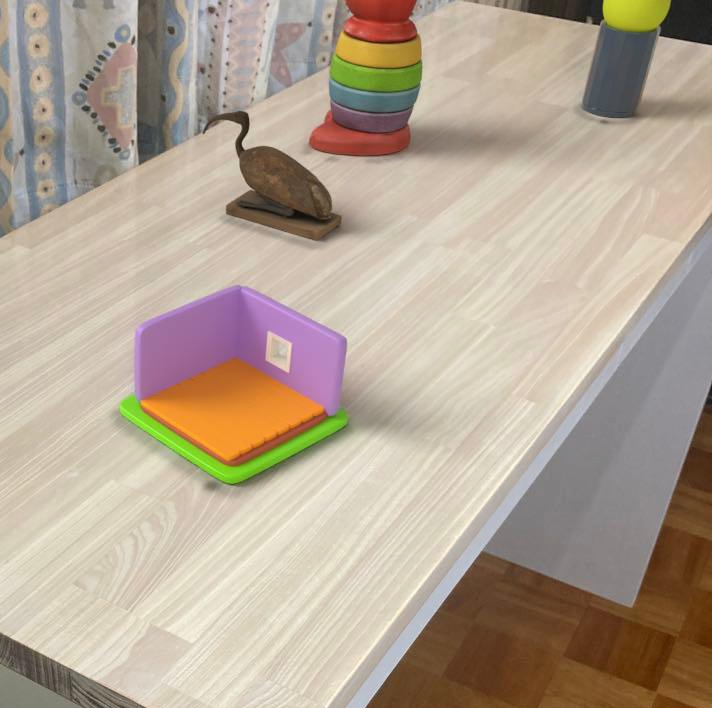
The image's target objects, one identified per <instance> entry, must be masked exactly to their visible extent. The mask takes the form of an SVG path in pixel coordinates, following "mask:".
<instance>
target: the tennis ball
mask: <svg viewBox="0 0 712 708" xmlns="http://www.w3.org/2000/svg"><path fill="white" fill-rule="evenodd" d="M602 2H603V3H602V15H603V20H604V19H605V21H606V23H607V25H608V26H610V27H612V28H615V29H618V30H624V31H631V32H649V31H653V30H654V29H656V28H657V27H658V26H660V25H661V24H662V23H663V21H664V20H665V19H666V16H667V15H668V13H669V10H670V7H671V2H672V0H603V1H602Z"/></svg>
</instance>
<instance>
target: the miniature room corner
mask: <svg viewBox="0 0 712 708" xmlns="http://www.w3.org/2000/svg"><path fill="white" fill-rule="evenodd" d="M280 344H283V345H284V346H286V347H287V353H286V356H284V355H282V354H280V353H279V351H280ZM347 350H348V339H347V337H346V336H344V335H342V334H341V333H339V332H337V331H335V330H334V329H331V328H329V327H327V326H325V325H324V324H322V323H320V322H318V321H316V320H314V319H312V318H311V317H308V316H306V315H304V314H303V313H301V312H298V311H296V310H295V309H293V308H290V307H289V306H287V305H285V304H283V303H281V302H279V301H277V300H275V299H273V298H271V297H270V296H267V295H266V294H264V293H261V292H260V291H258V290H256V289H254V288H251V287H249V286H247V285H238V284H235V285H232V286H228V287H226V288H223V289H221V290H218V291H215V292H213V293H210V294H208V295H205V296H203V297H200V298H197V299H196V300H193V301H190V302H188V303H186V304H183V305H182V306H179V307H177V308H174V309H172V310H169V311H167V312H164V313H162V314H160V315H157V316H154V317H152V318H150V319H148V320H146V321H144V322H142V323H140V324H139V325H138V326H137V327H136V329H135V332H134V353H133V354H134V355H133V356H134V357H133V360H134V362H133V363H134V365H133V367H134V369H133V371H134V373H133V374H134V378H133V379H134V393H133V394H131V395H129V396H128V397H125V398H124V399H123V400H121V401H120V403H119V412H120V414H121V415H122V416H123V417H125V418H126V419H127V420H129V421H130V422H132V424H134V425H136V426H137V427H139V428H140V429H141V430H143V431H144V432H146V433H147V434H149V435H151V436H152V437H153V438H155V439H156V440H157V441H159V442H161V443H162V444H164V445H165V446H166V447H168V448H170V449H171V450H172V451H175V452H176V453H177V454H178V455H180V456H182V457H183V458H184V459H186V460H188V461H189V462H190V463H192V464H194V465H195V466H197V467H199V468H200V469H202V470H203V471H204V472H206V473H207V474H209V475H211V476H212V477H214V478H215V479H217V480H219V481H221V482H223V483H225V484H228V485H229V484H230V485H234V484H238V483H241V482H243V481H246V480H247V479H251V478H252V477H253V476H256V475H258V474H259V473H262V472H264V471H265V470H267V469H269V468H271V467H273V466H275V465H276V464H278V463H280V462H282V461H284V460H286V459H287V458H290V457H291V456H293V455H295V454H297V453H299V452H301V451H303V450H304V449H307V448H308V447H310V446H312V445H314V444H316V443H318V442H320V441H322V440H323V439H325V438H327V437H328V436H330V435H332V434H334V433H336V432H337V431H339V430H341V429H342V428H344V427H345V426H346V425H347V424H348V421H349V414H348V412H346V410H345V409H343V408H342V407H340V402H341V396H342V388H343V381H344V372H345V367H346V359H347Z"/></svg>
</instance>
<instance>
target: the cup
mask: <svg viewBox="0 0 712 708" xmlns="http://www.w3.org/2000/svg"><path fill="white" fill-rule="evenodd" d="M661 30H662V28H661V26H660V25H659V26H658V27H657V28H656V29H654V30H653V31H649V32H631V31H624V30H618V29H615V28H612V27H610V26H608V25H607V23H606V21H605V19H604V18H603V19H602V20H601V21H600V23H599V28H598V32H597V36H596V41H595V45H594V48H593V52H592V57H591V59H590V60H591V61H590V64H589V67H588V73H587V77H586V79H585V80H586V81H585V84H584V89H583V92H582V97H581V102H580V106H581V108H582V109H583V110H584V111H586V112H588V113H589V114H593V115H595V116H599V117H607V118H613V119H614V118H617V119H618V118H619V119H620V118H621V119H622V118H623V119H624V118H630V117H633V116H635V115H636V114H637V113H638V111H639V108H640V105H641V102H642V98H643V95H644V91H645V88H646V84H647V81H648V77H649V73H650V70H651V66H652V63H653V60H654V56H655V52H656V49H657V45H658V41H659V38H660V33H661Z"/></svg>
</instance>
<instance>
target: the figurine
mask: <svg viewBox="0 0 712 708" xmlns="http://www.w3.org/2000/svg"><path fill="white" fill-rule="evenodd" d="M217 121H229V122H233V123H235V124H237V125H240V126H241V129H240V132H239V134H238V136H237V137H236V139H235V143H234V149H235V151H236V156H237V157H238V162H239V163H238V165H239V170H240V173H241V175H242V177H243V178H244V181H245V184H246V185H247V186H248V187H249V188H250V189H249V190H247V191H245V192H244V193H243V194H241V195H240V196H238V197H237V198H235V199H233V200H232V201H230V202H229V203H227V204H226V205H225V213H226V214H227V215H231V216H233V217H237V218H241V219H244V220H247V221H251V222H253V223H257V224H260V225H263V226H266V227H270V228H272V229H273V228H274V229H277V230H280V231H284V232H287V233H289V234H292V235H297V236H300V237H303V238H307V239H310V240H314V241H317V240H319V239H320V238H321V239H322V237H324V236H325V235H327V234H328V233H330V232H331V231H333V230H334V229H335V228H336V227H338V226H339V225H340V224H342V218H343V217H342V215H341V214H338V213H334V212H332V211H333V200H332V196H331V193H330V191H329V190H328V189H327V188H326V186H325V185H324V184H323V183H322V182H321V180H320V179H319V178H318V177H317V176H316V175H315V174H314V173H313V172H312V171H310V170H309V169H308V168H307V167H306V166H304V165H303V164H301V162H298V160H296V159H295V158H294V157H292V156H291V155H289V154H287V153H285V152H284V151H282V150H280V149H278V148H275V147H273V146H269V145H257V146H254V147H250V148H247V149H245V148H244V146H243V141H244V140H245V138H246V137H247V135H248V133H249V130H250V125H251V124H250V114H249V113H248V112H246V111H244V110H237V111H233V112H224V113H221V114H217V115H214V116H213V117H212V118H210V119H209V120H208V121H207V123H206V124H205V126H204V128H203V130H202V134H203V135H205V134H206V132H207V130H208V128H209V127H210V125H211V124H212V123H214V122H217Z"/></svg>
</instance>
